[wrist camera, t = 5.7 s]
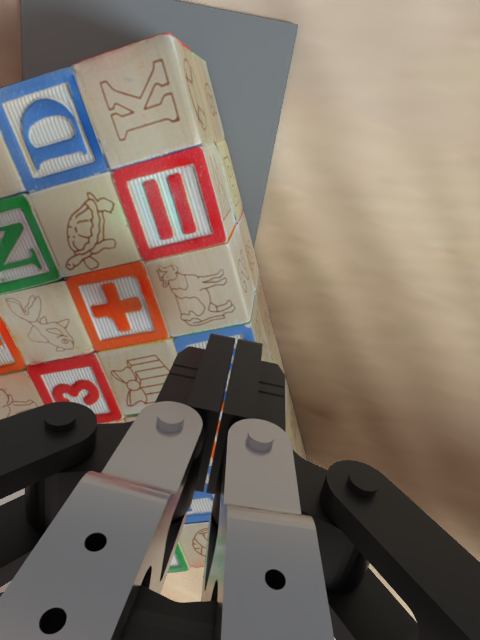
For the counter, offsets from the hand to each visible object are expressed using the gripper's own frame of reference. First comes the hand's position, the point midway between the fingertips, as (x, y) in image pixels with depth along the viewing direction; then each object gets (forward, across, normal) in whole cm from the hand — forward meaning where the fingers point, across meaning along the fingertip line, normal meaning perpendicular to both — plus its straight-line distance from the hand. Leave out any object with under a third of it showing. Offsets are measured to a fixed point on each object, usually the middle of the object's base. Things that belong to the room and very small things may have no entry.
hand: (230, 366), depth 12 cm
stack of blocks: (+6, -1, +1) cm, 6 cm away
